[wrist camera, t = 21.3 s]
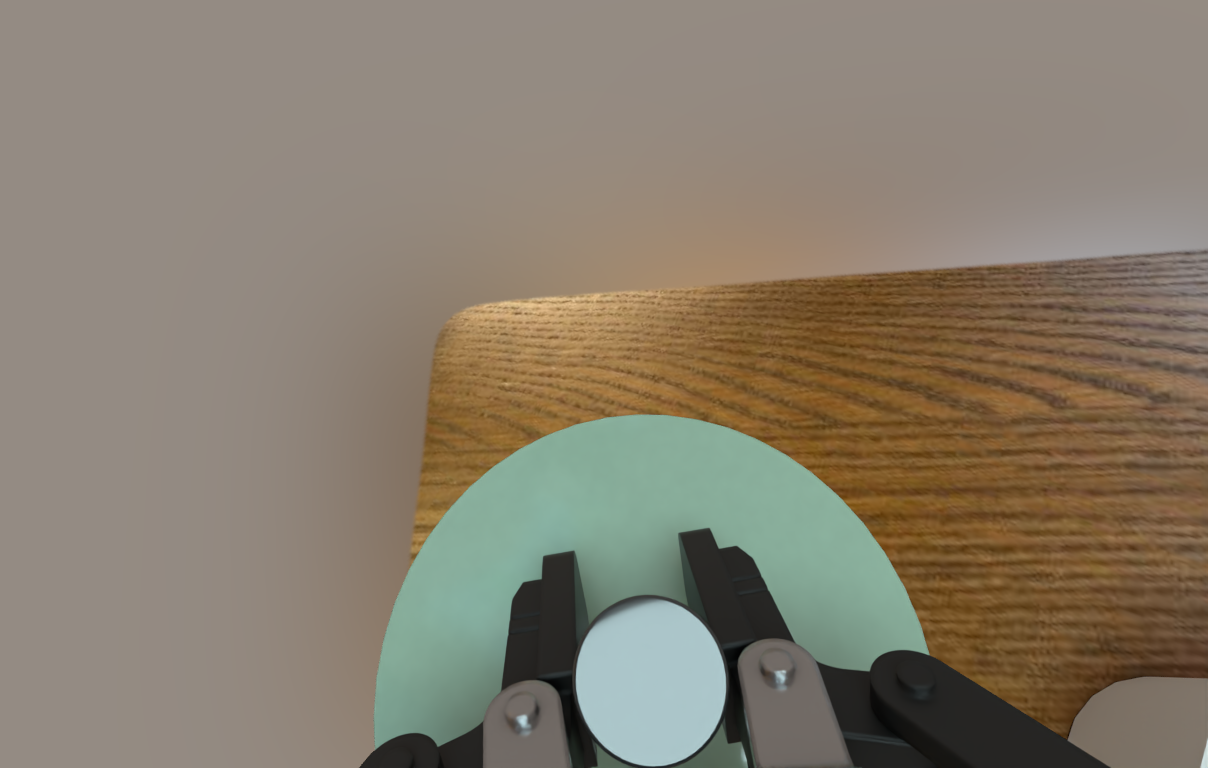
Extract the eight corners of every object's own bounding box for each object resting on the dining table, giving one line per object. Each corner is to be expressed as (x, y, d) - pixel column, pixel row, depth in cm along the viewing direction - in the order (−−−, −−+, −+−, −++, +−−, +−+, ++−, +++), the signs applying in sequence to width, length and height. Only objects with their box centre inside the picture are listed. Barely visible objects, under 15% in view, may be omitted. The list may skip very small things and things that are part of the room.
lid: (740, 1222, 11) (873, 1988, 5) (285, 733, 15) (18, 786, 9) (1007, 608, 15) (1267, 570, 9) (594, 353, 20) (568, 199, 13)
